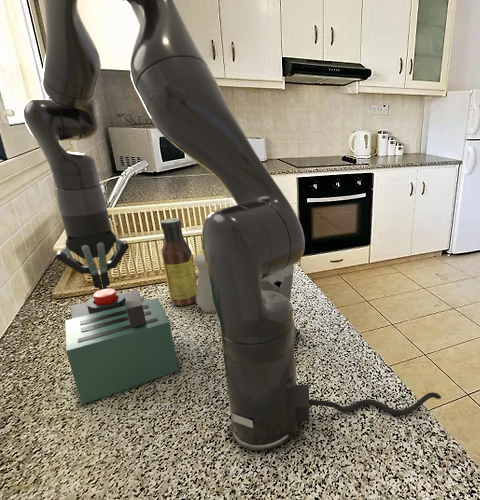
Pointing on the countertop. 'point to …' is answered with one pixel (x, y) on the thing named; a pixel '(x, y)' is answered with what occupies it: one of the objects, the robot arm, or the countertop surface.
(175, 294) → the sauce bottle
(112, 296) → the button
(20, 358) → the countertop surface
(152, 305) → the toaster
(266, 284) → the coffeepot
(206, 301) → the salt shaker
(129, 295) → the button base
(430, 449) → the countertop surface
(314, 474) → the countertop surface
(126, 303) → the toaster slider
